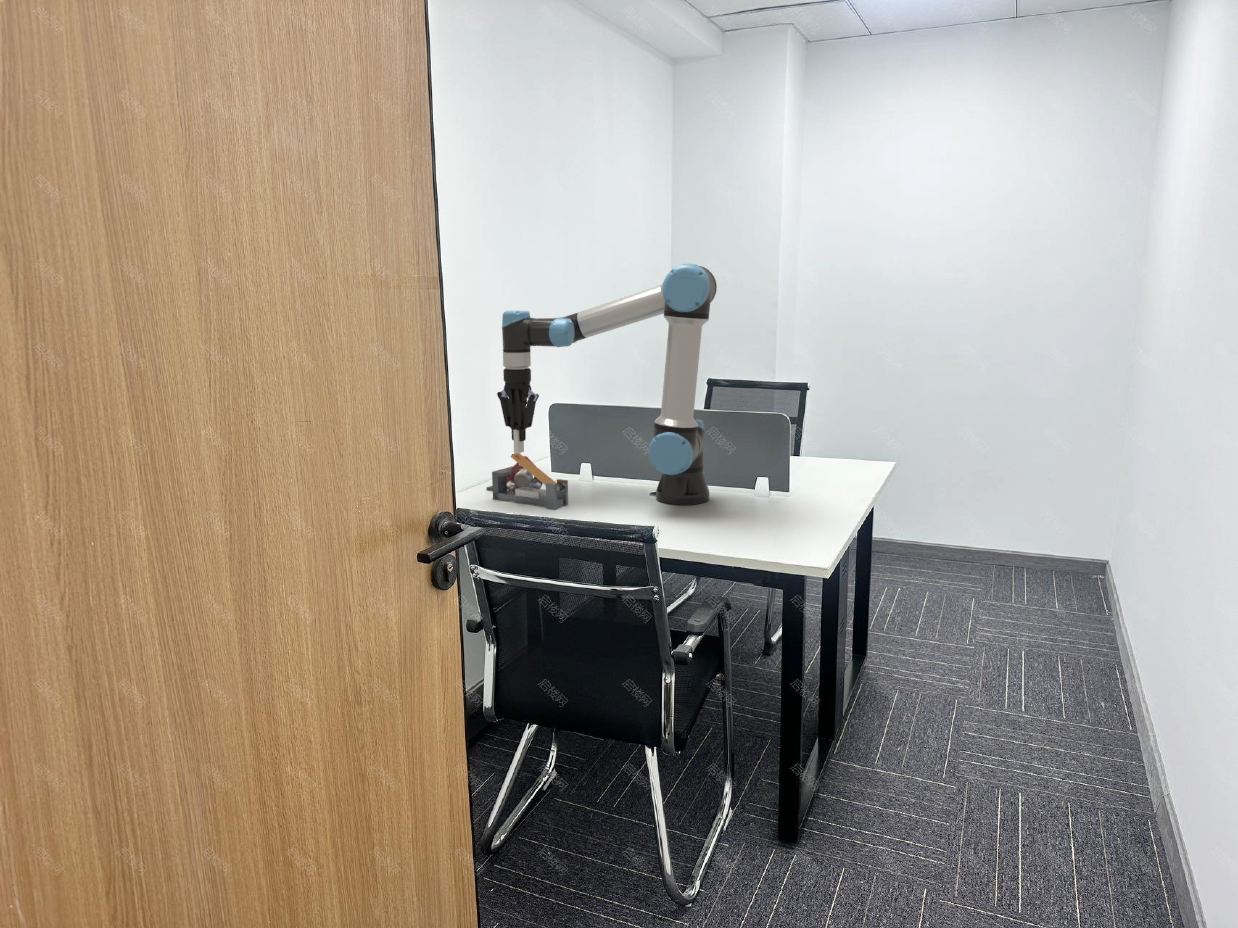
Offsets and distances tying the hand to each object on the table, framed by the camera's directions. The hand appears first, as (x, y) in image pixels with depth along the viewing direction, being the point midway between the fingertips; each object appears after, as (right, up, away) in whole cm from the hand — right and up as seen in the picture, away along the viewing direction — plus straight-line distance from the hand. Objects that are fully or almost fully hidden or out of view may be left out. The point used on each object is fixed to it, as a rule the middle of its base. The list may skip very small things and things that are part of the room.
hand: (519, 452), depth 235 cm
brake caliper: (0, -12, +13) cm, 18 cm away
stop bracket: (-6, -10, +20) cm, 24 cm away
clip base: (+2, -14, +1) cm, 14 cm away
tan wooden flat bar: (+5, -6, -2) cm, 8 cm away
